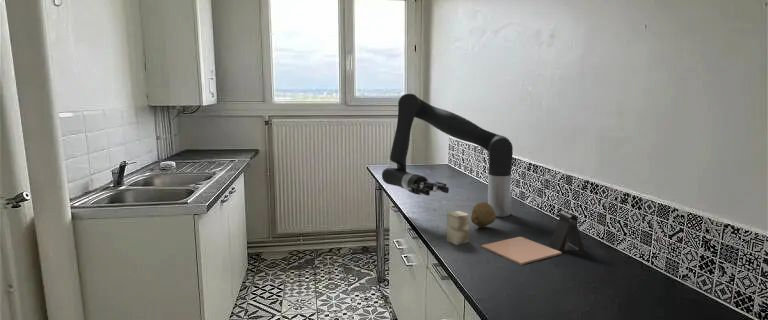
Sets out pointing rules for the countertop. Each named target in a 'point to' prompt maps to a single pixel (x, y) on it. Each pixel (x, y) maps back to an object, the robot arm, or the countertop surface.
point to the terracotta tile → (521, 250)
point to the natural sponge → (483, 214)
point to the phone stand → (566, 234)
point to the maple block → (457, 227)
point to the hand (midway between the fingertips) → (438, 191)
